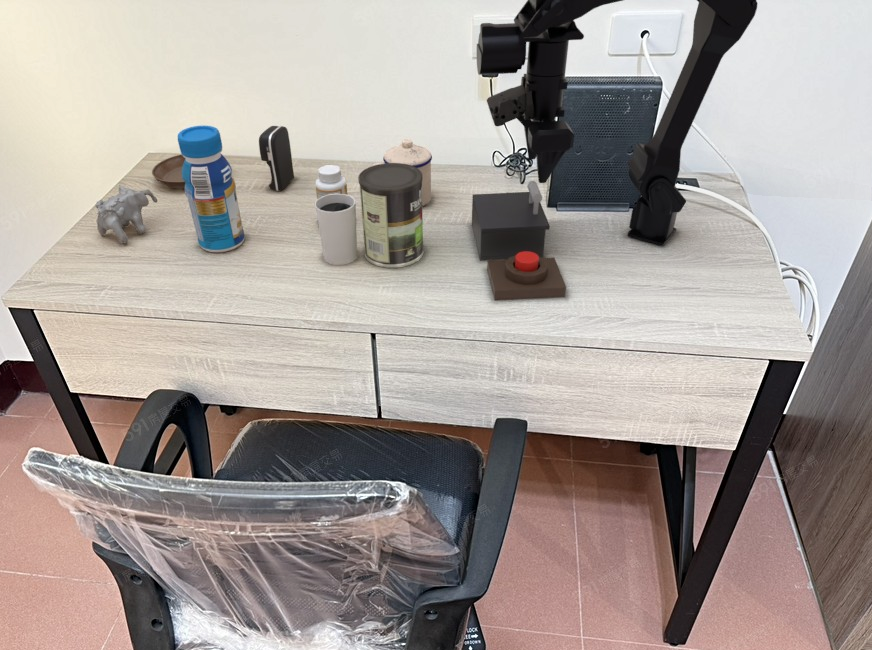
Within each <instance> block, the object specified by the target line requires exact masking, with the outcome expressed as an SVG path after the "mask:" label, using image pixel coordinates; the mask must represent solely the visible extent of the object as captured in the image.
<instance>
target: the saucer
mask: <svg viewBox="0 0 872 650" xmlns="http://www.w3.org/2000/svg"><path fill="white" fill-rule="evenodd" d="M184 161H185V157H183V156H182V154H181V153H180V154H177V155H173V156H171V157H168V158H166V159H164V160H161V161H160V162H158V163H157V164H156V165H154V166H153V168H152V170H151V175H152V177H154V178H155V179H156V180H157V181H158V182H159V183H161V184H163V185H165V186H167V187H168V188H169V187H170V188H172V189H178V190H179V189H180V190H183V189H184V190H185V183H186V182H185V181H184V180H183V178H182V167H183V163H184Z"/></svg>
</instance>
